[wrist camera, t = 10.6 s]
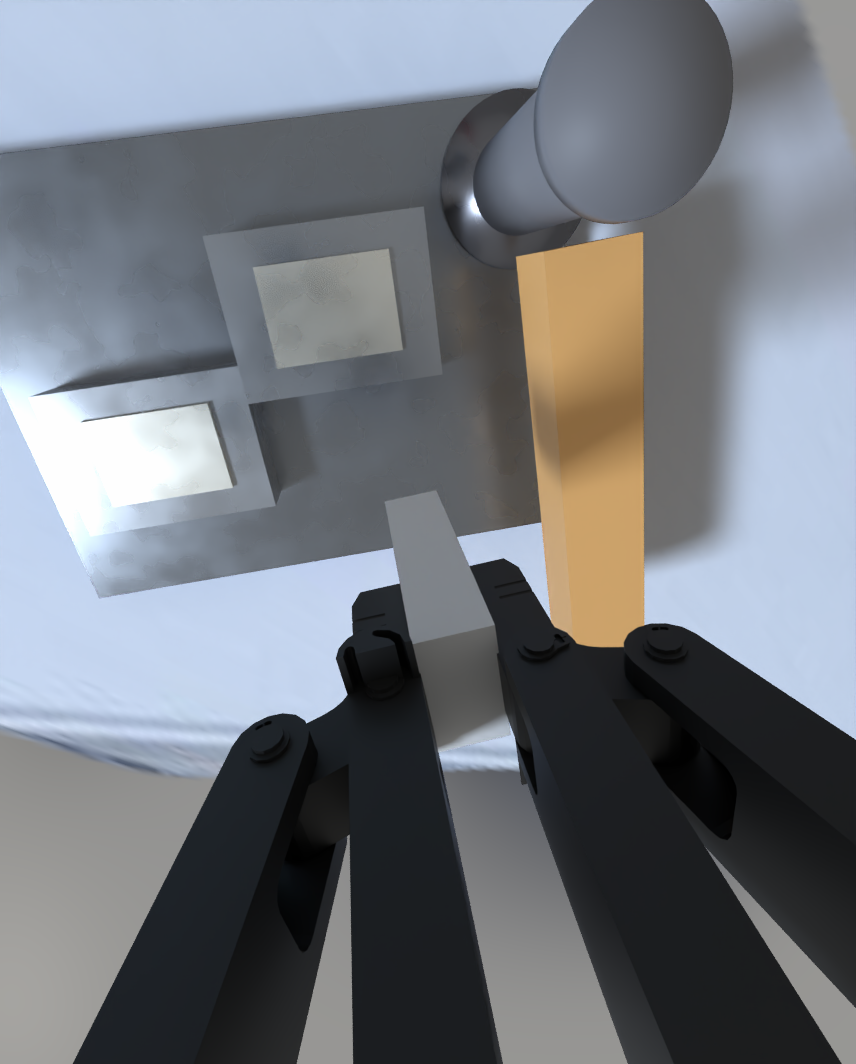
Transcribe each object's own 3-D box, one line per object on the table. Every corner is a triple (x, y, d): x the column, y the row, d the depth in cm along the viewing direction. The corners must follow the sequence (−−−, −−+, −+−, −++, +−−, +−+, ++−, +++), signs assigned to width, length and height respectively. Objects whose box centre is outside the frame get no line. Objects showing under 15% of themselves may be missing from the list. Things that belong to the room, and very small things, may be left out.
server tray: (115, 578, 28) (78, 623, 24) (-62, 176, 20) (-156, 152, 17) (572, 500, 30) (604, 532, 26) (568, 98, 22) (613, 59, 18)
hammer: (454, 125, 20) (535, -4, 11) (569, 103, 20) (740, -41, 11) (520, 636, 30) (589, 781, 21) (595, 618, 30) (695, 756, 21)
